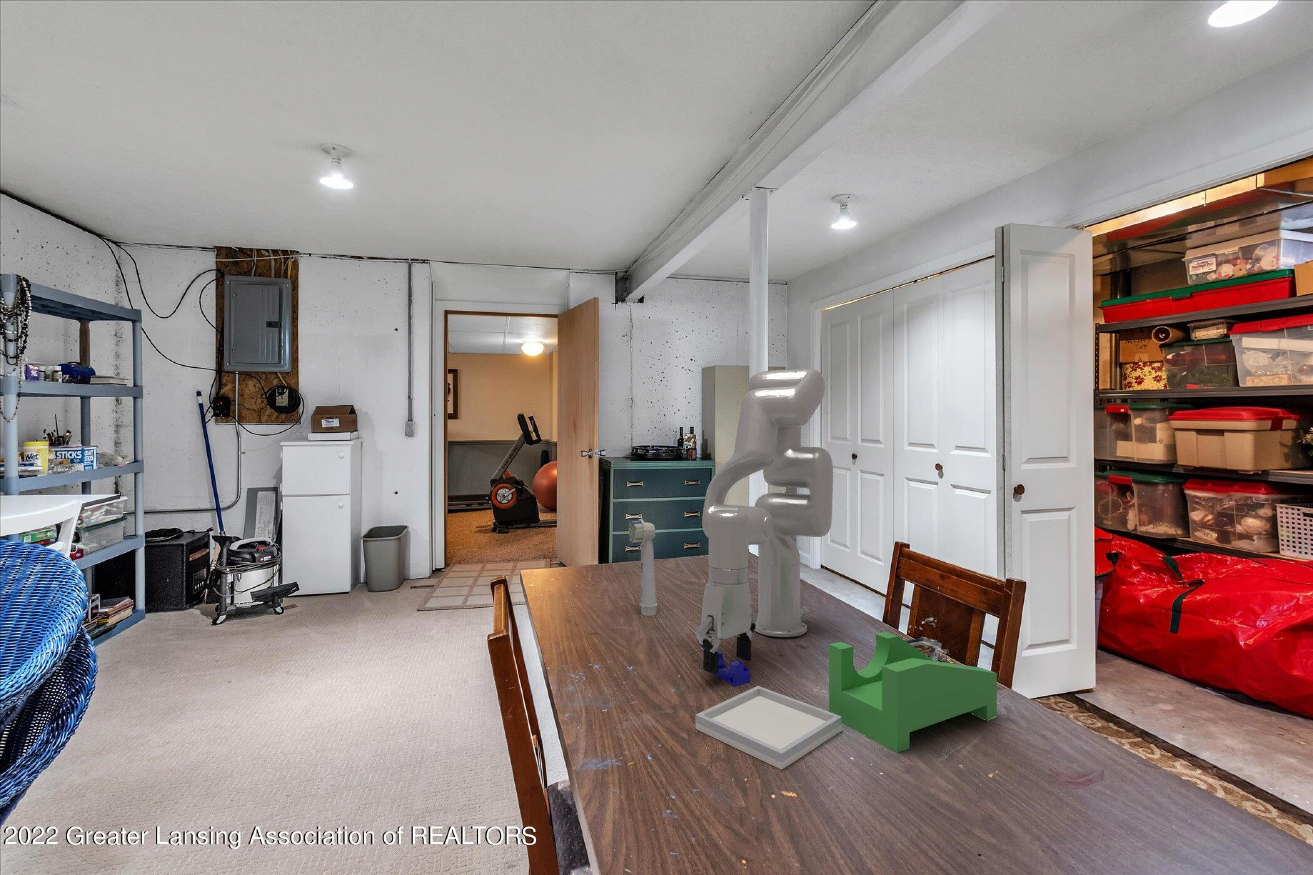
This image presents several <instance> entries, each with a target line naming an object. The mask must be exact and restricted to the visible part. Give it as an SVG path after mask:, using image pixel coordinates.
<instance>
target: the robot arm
mask: <svg viewBox="0 0 1313 875" xmlns="http://www.w3.org/2000/svg"><path fill="white" fill-rule="evenodd" d="M825 388H826V387H825V379H824V376H823V375H822V373H821V372H820V371H819V370H817V369H815V368H794V369H792V368H791V369H775V370H773V369H772V370H764V371H760V372H757V373H755V374H753V375H752V376H751V377H750V378H749V381H748V391H747V392H746V393H745V394H744V396H743V397H742V401H741V404H740V411H739V417H738V423H737V424H738V425H737V431H736V436H735V443H734V450H733V454H732V455H731V457H730V458H729V459H728V460H727V461H726V462H725V463H724V464H722V465H721V467H720V468H719V469H718V470H717V472H716V473H715V474H714V476H713V477H712V479H711V481H710V483H709V484H708V486H707V489H706V494H705V496H704V497H705V498H704V502H703V503H704V504H703V510H702V518H701V520H702V521H701V525H702V529H703V533H704V534H705V536H706V538H708V582H707V583H706V584H705V588H704V593H703V597H702V606H701V622H700V624H699V625H698V626H697V627H696V628H695V630H694V635H695V637H696V639H697V640H696V641H697V644H698V645H700V649H701V650H702V651H703V667H702V668H703V670H704V671H706V672H708V673H711V674H713V675H716V674H717V673H718V671H719V654H718V652H716V651H717V650H718V647H719V646H720V643H721V641H724V640H727V639H729V638H733V637H736V657H737V658H738V659H741V660H743V661H746V662H750V661H751V660H752V640H753V639H754V632H756V633H758V634H761V635H764V636H768V637H775V638H776V637H777V638H793V637H799V636H802V635H804V634H805V633H806V632H807V631H808V626H807V624H806V622H804V621H802V617H803V616H805V615H807V614H809V613H810V609H809V607H808V606H807V605H804V606H801V554H800V551H799V548H798V546H797V544H796V543H795V541H794V540H793V538H792V537H791V536H796V537H797V536H798V537H809V538H822V537H825V536H826V535H828V533H829V532H830V529H831V526H832V520H833V497H834V496H833V494H834V492H833V491H834V490H833V489H834V487H833V486H834V465H833V464H834V463H833V460H832V457H831V454H830V453H829V451H828V450H827V449H826V448H822V447H819V446H802V445H801V444H802V441H801V440H802V437H801V435H802V427H803V426H805V425H806V424H808V422H809V421H810V420H811V419H812V417H813V415H814V414H815V412H816V410H817V408H819V406H820V404H821V402H822V401H823V398H824V395H825ZM760 471H762V475H763V479H764V482H765V483H766V484H767V485H769V486H773V487H777V488H793V489H794V488H797V489H808V490H809V494H808V493H806V494H805V493H793V492H786V493H785V492H769V493H768V492H767V493H765V494H762V495H760V496H759V497H758V498H757V499H756V500H755V504H754V506H751V505H750V506H749V505H748V506H747V505H737V504H734V505H733V504H725V499H726V497H727V495H728V493H729V491H730V490H731V488H733V486H734V485H735V484H737V483H738V482H739V481H741V480H742V479H745V478H746V477H748V476H750V475H753V474H756V473H758V472H760ZM751 545H752V546H754V545H755V546H756V545H757V547H758V548H757V550H758V551H757V552H758V553H757V554H758V562H757V568H758V570H757V573H758V575H757V576H758V577H757V579H758V582H757V586H758V589H757V590H758V591H757V592H758V593H757V594H758V595H757V596H758V599H757V600H758V601H757V602H758V604H757V605H758V608H757V609H758V611H757V612H756V611H754V610H753V609H752V600H751V599H752V597H751V590H750V584H749V546H751ZM711 640H713V642H711Z"/></svg>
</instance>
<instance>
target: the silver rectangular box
mask: <svg viewBox="0 0 1313 875" xmlns="http://www.w3.org/2000/svg"><path fill="white" fill-rule="evenodd" d="M933 620H934V617H930V618H926V621H929V622H932V621H933ZM926 621H925V620H924V621H921V624H925V623H926ZM929 622H928V625H929V624H930V625H931V624H932V625H933V627H934V628H935V627H936V624H935V623H933V622H932V623H929ZM934 622H937V619H936V620H934ZM911 627H912V625H909V627H908V628H911ZM915 628H917V626H915ZM919 629H920V630H923V628H922V627H919ZM910 631H911V630H910V629H908V632H909V633H911V632H910ZM897 636H899V637H902V636H903V635H902V633H900V634H899V635H897ZM903 639H904V640H905V638H903ZM905 641H906V642H908V643H909V644H911V645H912V646H914V647H915V648H916V649H918V650H919V651H921V652H922V653H924V654H926V655H928V656H930V657H929V658H931V659H932V660H934V661H937V662H939V661H938V660H939V658H938V657H939V656H940V654H942V653H943V654H944V655H946V654H948V655H950V653H949V652H950V651H949V650H947V649H942V645H943V644H942V643H940V642H939V641H938V640H936V639H932V638H927V636H920V638H914V639H913V638H912V639H906V640H905ZM946 660H947V658H946V657H942V658H940V661H941V662H945V661H946Z"/></svg>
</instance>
